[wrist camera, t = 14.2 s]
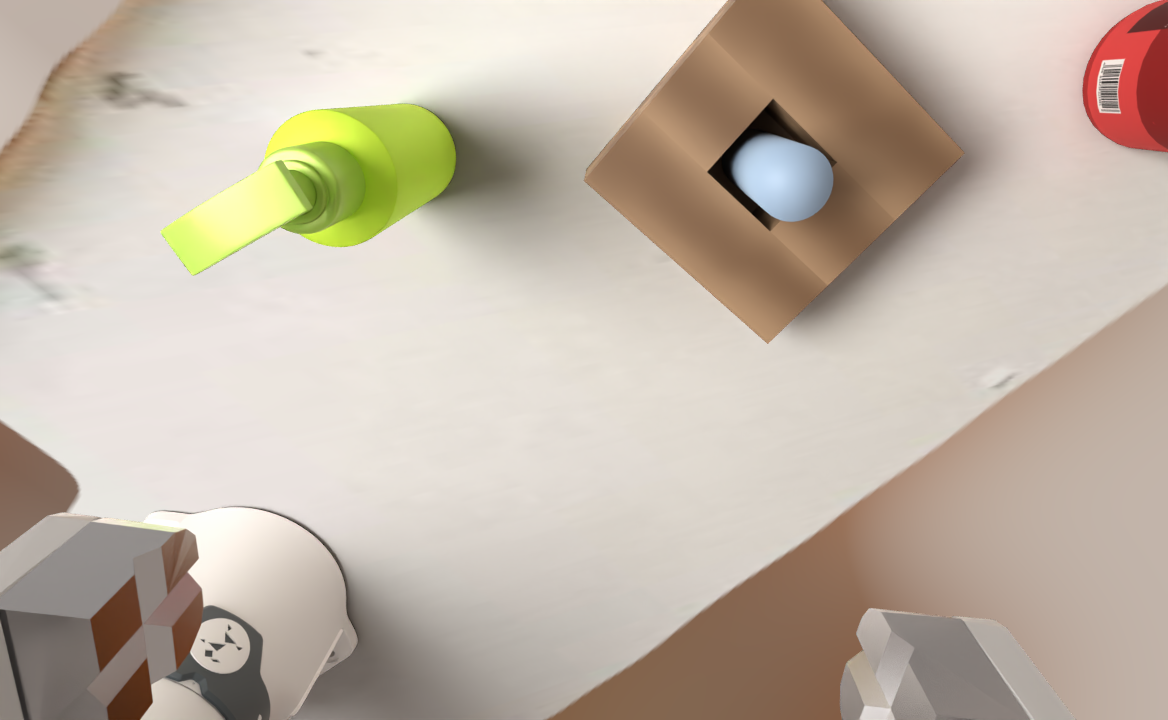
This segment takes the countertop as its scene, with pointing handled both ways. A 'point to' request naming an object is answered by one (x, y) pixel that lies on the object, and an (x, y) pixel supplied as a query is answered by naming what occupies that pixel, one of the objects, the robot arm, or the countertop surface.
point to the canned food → (1131, 80)
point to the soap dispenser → (325, 182)
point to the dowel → (779, 174)
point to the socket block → (787, 109)
